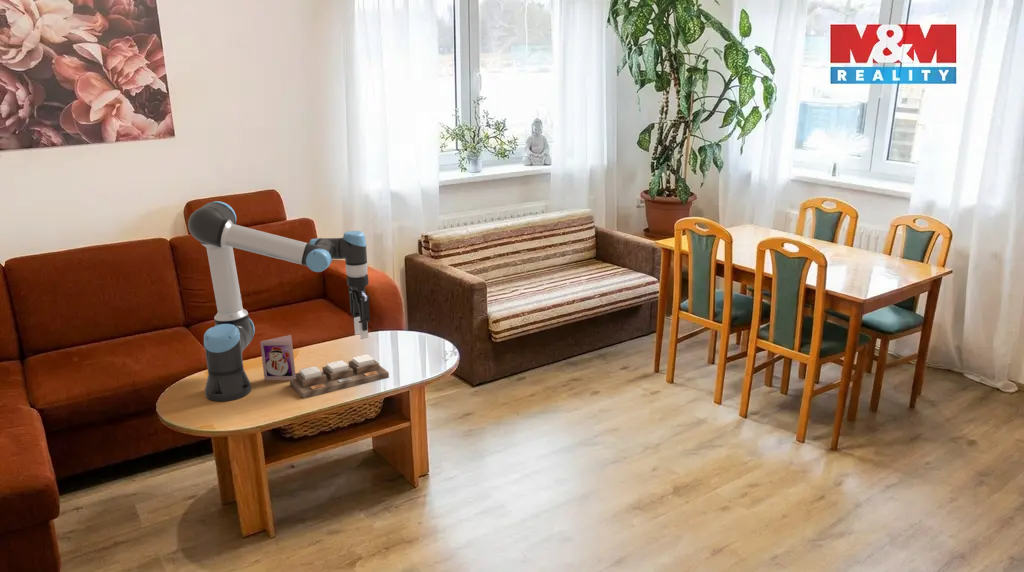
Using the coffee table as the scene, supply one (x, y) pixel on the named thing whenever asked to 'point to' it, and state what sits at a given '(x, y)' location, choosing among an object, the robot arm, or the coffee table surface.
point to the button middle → (337, 366)
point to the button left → (310, 372)
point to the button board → (338, 379)
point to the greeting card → (278, 358)
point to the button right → (363, 360)
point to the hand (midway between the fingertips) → (361, 336)
